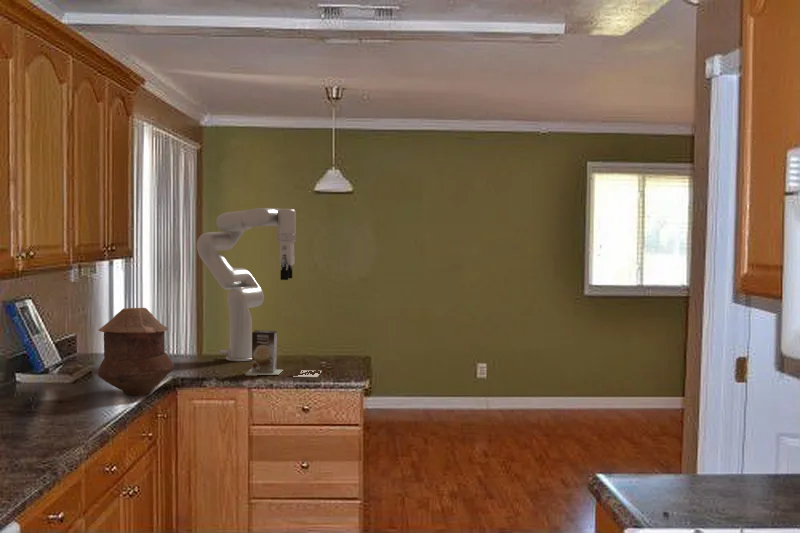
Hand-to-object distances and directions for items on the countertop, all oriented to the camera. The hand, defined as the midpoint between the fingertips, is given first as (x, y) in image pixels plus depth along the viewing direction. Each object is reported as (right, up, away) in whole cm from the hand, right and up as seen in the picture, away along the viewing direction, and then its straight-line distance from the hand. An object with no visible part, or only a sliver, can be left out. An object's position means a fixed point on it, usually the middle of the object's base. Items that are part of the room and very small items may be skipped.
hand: (286, 279), depth 368 cm
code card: (+10, -38, -18) cm, 43 cm away
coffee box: (-6, -37, -19) cm, 42 cm away
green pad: (-6, -37, -19) cm, 42 cm away
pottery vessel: (-45, -39, -60) cm, 85 cm away
